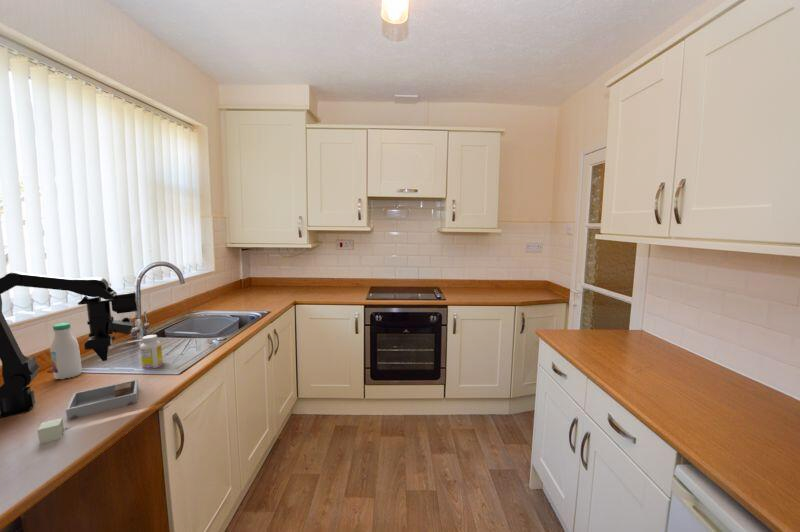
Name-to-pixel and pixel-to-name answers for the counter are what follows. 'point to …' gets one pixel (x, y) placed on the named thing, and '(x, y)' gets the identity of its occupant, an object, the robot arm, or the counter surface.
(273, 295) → the counter surface
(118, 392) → the walnut block
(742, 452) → the counter surface
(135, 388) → the grey shallow tray
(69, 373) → the milk bottle
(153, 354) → the supplement bottle
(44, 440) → the sage block
